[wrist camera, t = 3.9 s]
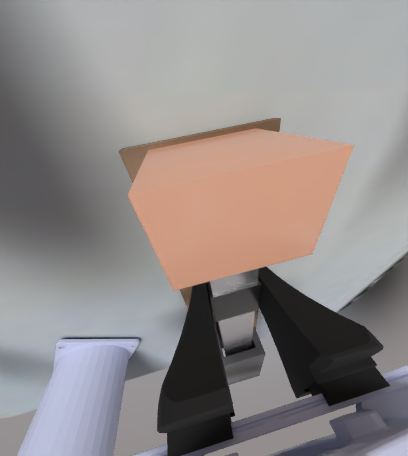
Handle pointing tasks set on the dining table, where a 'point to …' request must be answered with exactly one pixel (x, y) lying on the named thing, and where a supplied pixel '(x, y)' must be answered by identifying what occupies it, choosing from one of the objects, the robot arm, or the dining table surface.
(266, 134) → the peach-orange block
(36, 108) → the dining table surface
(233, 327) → the grey banded bar
